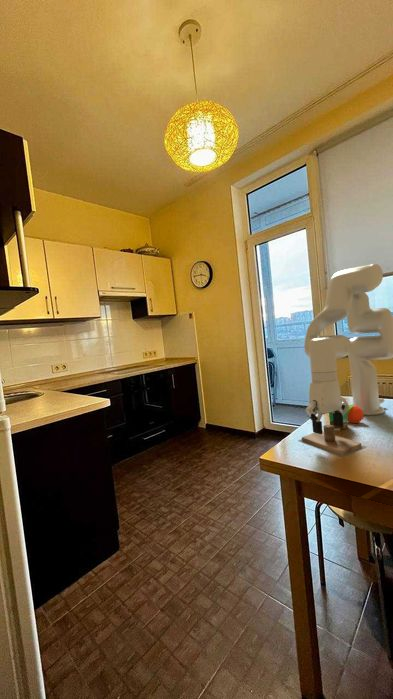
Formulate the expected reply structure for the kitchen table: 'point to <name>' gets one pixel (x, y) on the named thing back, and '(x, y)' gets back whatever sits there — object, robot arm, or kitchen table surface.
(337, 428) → the food container
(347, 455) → the mat
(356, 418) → the clementine
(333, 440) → the lid
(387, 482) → the kitchen table surface
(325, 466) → the kitchen table surface
